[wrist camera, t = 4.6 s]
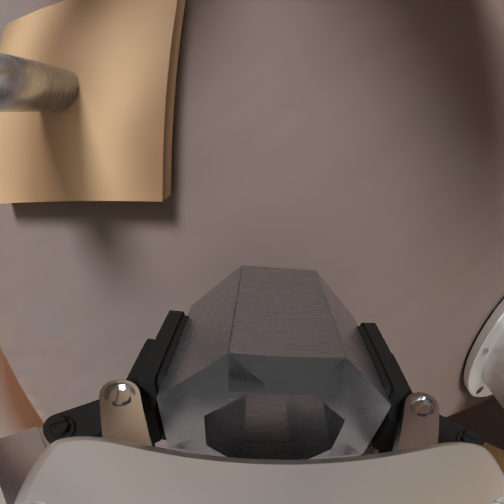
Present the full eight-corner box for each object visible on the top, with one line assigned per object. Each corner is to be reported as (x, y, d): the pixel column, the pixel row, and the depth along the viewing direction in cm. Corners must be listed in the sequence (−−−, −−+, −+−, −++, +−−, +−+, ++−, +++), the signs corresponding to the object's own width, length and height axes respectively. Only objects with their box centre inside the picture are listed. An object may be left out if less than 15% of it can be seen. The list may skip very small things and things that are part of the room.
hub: (363, 273, 11) (416, 354, 6) (329, 393, 13) (346, 477, 9) (190, 261, 11) (146, 342, 6) (195, 386, 13) (175, 470, 9)
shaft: (81, 66, 9) (-37, 33, 3) (77, 109, 10) (-50, 107, 3) (41, 75, 9) (-74, 62, 3) (38, 116, 10) (-83, 126, 3)
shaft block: (187, -10, 9) (181, -24, 8) (171, 194, 13) (162, 201, 12) (20, 30, 9) (5, 25, 7) (9, 197, 12) (-7, 203, 11)
